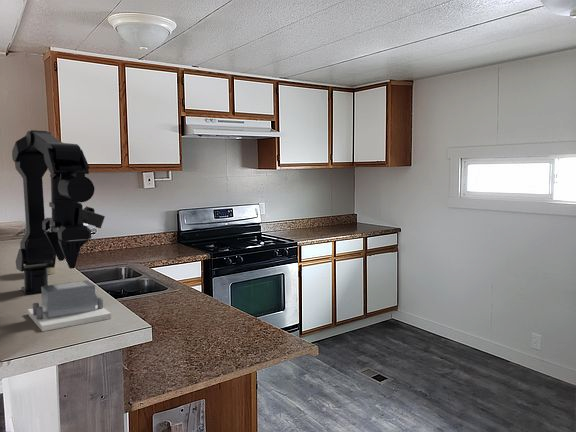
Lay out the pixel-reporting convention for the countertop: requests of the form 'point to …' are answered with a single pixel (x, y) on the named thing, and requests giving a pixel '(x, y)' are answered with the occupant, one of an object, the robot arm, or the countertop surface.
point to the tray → (69, 320)
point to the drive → (68, 298)
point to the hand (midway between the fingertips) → (66, 264)
